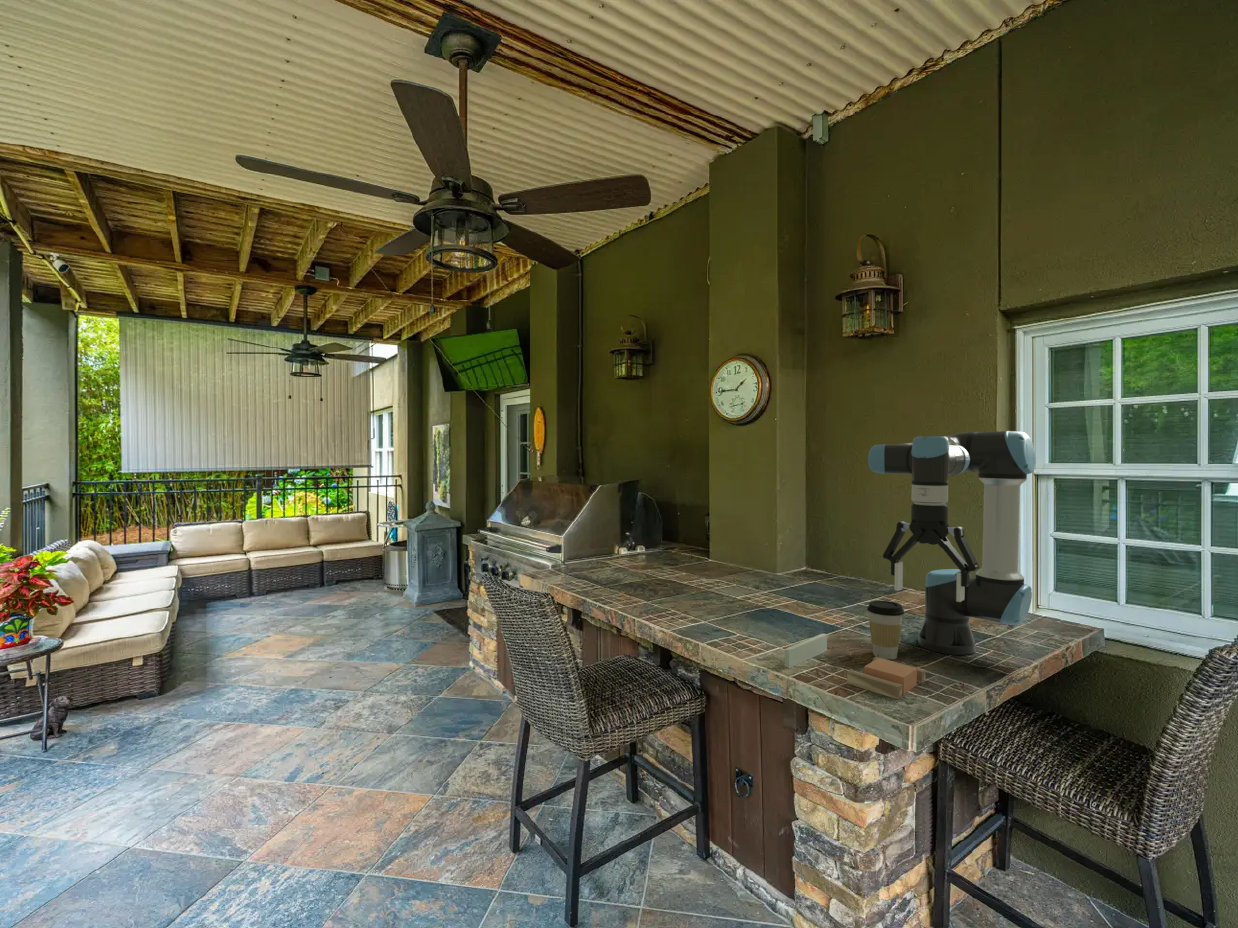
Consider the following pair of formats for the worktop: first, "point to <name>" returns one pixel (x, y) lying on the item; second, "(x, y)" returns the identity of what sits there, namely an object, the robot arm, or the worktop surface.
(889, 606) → the coffee cup
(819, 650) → the board
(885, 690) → the chute
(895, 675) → the block
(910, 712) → the worktop surface
